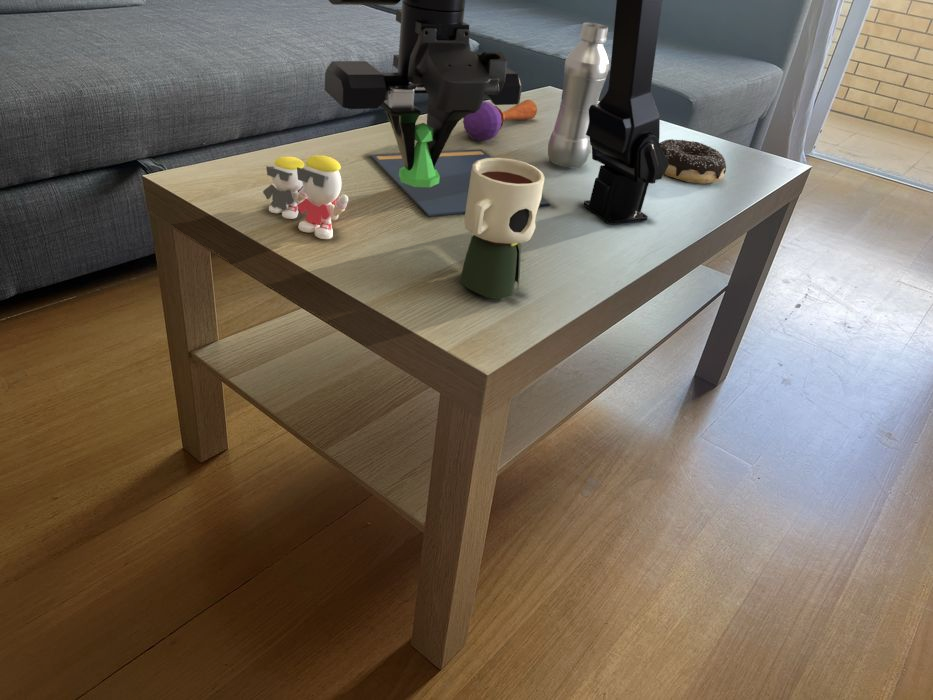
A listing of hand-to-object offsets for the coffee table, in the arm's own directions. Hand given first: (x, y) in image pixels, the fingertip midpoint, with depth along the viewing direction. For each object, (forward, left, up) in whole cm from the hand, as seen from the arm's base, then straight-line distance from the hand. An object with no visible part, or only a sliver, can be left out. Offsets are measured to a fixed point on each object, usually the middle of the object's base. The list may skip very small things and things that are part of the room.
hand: (418, 168), depth 75 cm
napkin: (-15, -19, -10) cm, 26 cm away
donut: (-55, -16, -10) cm, 58 cm away
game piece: (0, 0, -1) cm, 1 cm away
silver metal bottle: (-35, -22, -10) cm, 43 cm away
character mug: (-5, +9, -10) cm, 14 cm away
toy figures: (+9, -10, -10) cm, 17 cm away
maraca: (-32, -37, -10) cm, 50 cm away
